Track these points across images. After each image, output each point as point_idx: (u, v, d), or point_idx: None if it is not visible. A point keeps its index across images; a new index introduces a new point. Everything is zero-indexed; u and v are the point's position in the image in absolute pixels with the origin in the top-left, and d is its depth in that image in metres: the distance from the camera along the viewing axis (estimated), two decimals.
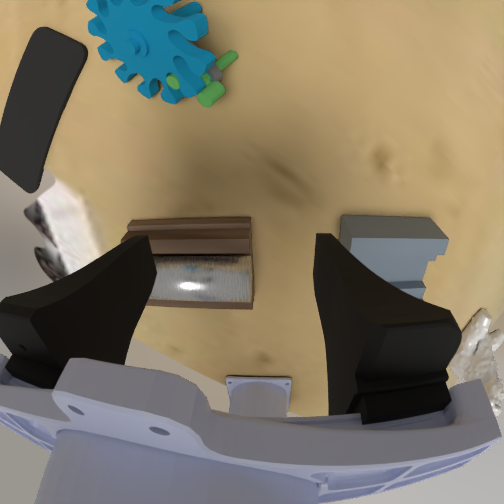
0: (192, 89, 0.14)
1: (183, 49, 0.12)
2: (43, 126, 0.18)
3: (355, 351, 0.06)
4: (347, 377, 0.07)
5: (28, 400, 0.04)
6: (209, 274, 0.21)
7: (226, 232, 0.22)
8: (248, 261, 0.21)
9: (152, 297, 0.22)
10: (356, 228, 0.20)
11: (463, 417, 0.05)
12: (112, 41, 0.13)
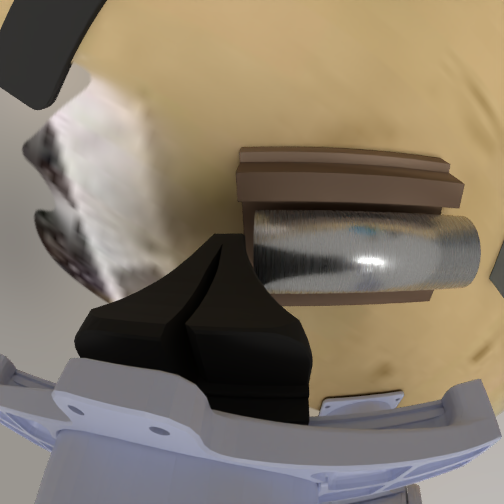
0: None
1: None
2: None
3: None
4: None
5: (29, 400, 0.04)
6: (432, 242, 0.10)
7: (426, 173, 0.11)
8: (470, 223, 0.11)
9: (317, 290, 0.12)
10: None
11: (463, 416, 0.05)
12: None
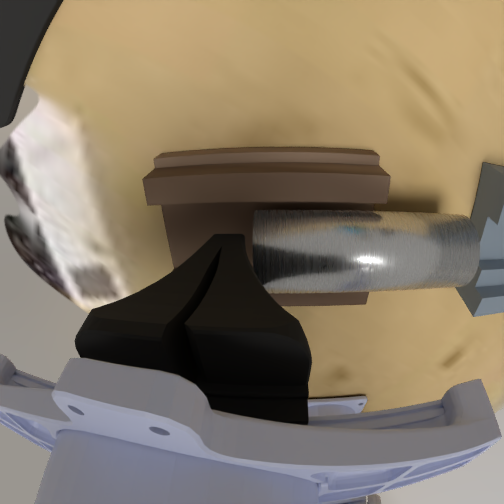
0: None
1: None
2: (33, 17, 0.08)
3: None
4: None
5: (29, 400, 0.04)
6: (432, 240, 0.10)
7: (345, 167, 0.12)
8: (470, 221, 0.11)
9: (316, 289, 0.12)
10: None
11: (463, 416, 0.05)
12: None
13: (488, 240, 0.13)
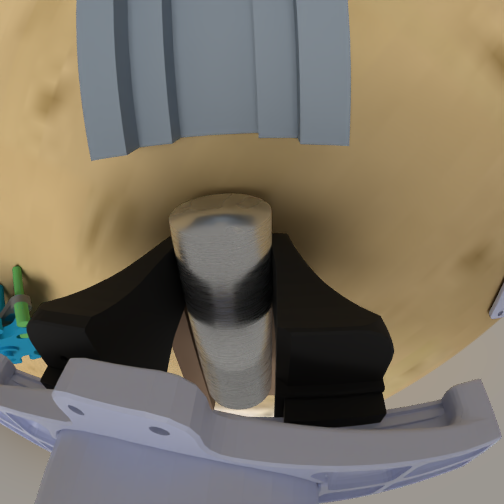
0: (19, 329, 0.14)
1: None
2: None
3: (276, 353, 0.06)
4: None
5: (29, 400, 0.04)
6: (187, 296, 0.11)
7: None
8: (171, 216, 0.10)
9: (249, 382, 0.13)
10: None
11: (463, 416, 0.05)
12: (18, 356, 0.17)
13: (220, 114, 0.09)
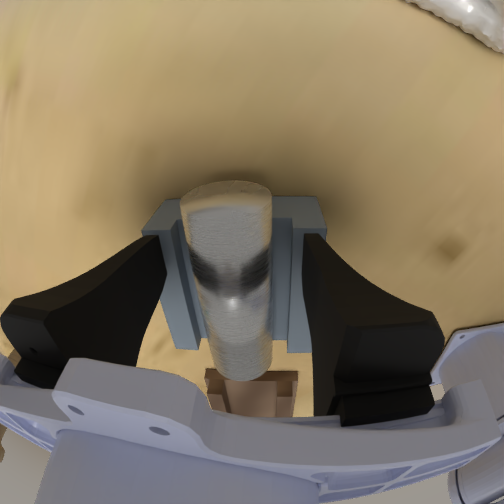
0: None
1: None
2: None
3: (334, 352, 0.06)
4: (327, 378, 0.07)
5: (28, 400, 0.04)
6: (197, 274, 0.12)
7: None
8: (181, 202, 0.11)
9: (253, 353, 0.14)
10: None
11: (463, 417, 0.05)
12: None
13: None
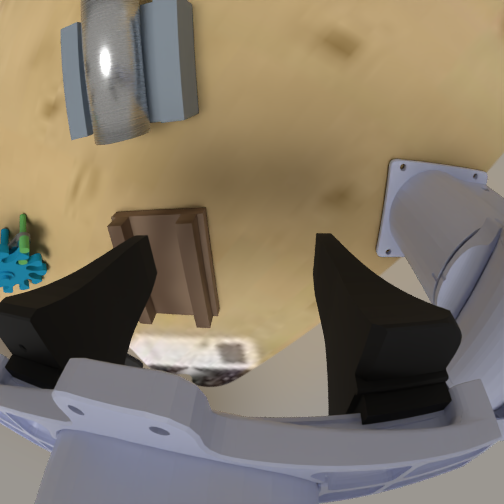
0: (20, 255, 0.21)
1: None
2: None
3: (355, 351, 0.06)
4: (347, 377, 0.07)
5: (29, 400, 0.04)
6: (81, 30, 0.11)
7: None
8: None
9: (116, 98, 0.13)
10: None
11: (463, 417, 0.05)
12: (11, 283, 0.24)
13: None
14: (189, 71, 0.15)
